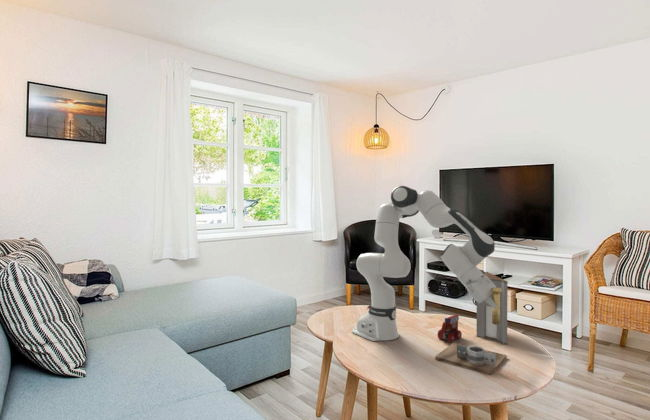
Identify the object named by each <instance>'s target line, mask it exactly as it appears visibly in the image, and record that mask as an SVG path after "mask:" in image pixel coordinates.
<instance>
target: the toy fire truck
mask: <svg viewBox="0 0 650 420" xmlns="http://www.w3.org/2000/svg"><path fill="white" fill-rule="evenodd" d="M459 319H460V318H459V314H453V315H450V316H449V317H445V318H444V321H443V322H442V325H441V329H439V330H438V331H437V338H438V339H440V340H447V341H448V342H449V343H454V342H455V339H456V340H460V339H461V338H462V331H461V330H459Z"/></svg>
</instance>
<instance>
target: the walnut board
mask: <svg viewBox="0 0 650 420" xmlns="http://www.w3.org/2000/svg"><path fill="white" fill-rule="evenodd" d="M457 345H462V346H466V347H469V346H470V345H466V344H462V343H457V342H451V344H450V345H448V346H447V347H446V348H444V349H443V350H441V351H440V352H439V353H437V354H436V355H435V356H434V360H435V361H440V362H443V363H447V364H452V365H454V366H457V367H461V368H463V369H464V368H465V369H468V370H471V371H476V372H479V373H483V374H486V375H489V376H492V375H493V374H494V373H495V371H496V370H498V369H499V368H500V366H501V365H502V364H503V363H504V362H505V360H507V359H508V355H506V354H503V353H499V352H494V351H491V350H487V349H484V350H485V351H486V352H490V353H495V354H496V361H495V367H492V366H488V365H484V364H483V365H473V364H469V363H468V362H467V360H465V359H462V358H458V357H457Z"/></svg>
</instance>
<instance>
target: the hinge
mask: <svg viewBox="0 0 650 420" xmlns="http://www.w3.org/2000/svg"><path fill="white" fill-rule="evenodd" d="M468 346H469V347H466V346H462V345H457V357H458V358H462V359H465V360H467V362H468V363H469V364H473V365H483V364H484V365H488V366H492V367H495V361H496V354H495V353H490V352H486V351H485V350H486V349H484V347H481V346H476V345H468Z"/></svg>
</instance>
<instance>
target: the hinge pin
mask: <svg viewBox="0 0 650 420" xmlns="http://www.w3.org/2000/svg"><path fill="white" fill-rule="evenodd" d="M491 291H492V300H493V301H494V302H496V303H497V304H498V306H497V307H496V308H493V307H492V324H494V325H500V292H502V289H501V288H496V287H492V288H491Z"/></svg>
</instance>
